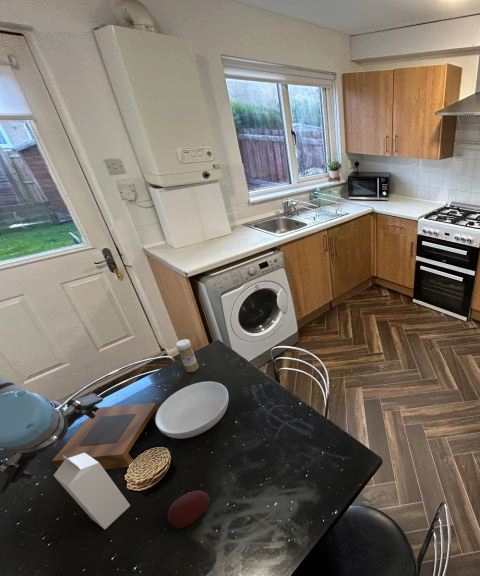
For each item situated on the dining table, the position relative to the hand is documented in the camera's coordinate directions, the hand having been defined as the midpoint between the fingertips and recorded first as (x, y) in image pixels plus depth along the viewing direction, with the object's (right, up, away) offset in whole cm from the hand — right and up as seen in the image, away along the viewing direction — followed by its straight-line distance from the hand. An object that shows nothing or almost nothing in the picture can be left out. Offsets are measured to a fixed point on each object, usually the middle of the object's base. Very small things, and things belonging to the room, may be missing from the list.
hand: (59, 442), depth 71 cm
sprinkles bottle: (-3, +3, +54) cm, 54 cm away
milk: (+4, -22, +9) cm, 24 cm away
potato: (+26, -23, +8) cm, 35 cm away
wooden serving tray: (-9, -13, +26) cm, 30 cm away
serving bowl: (+12, -9, +33) cm, 36 cm away
